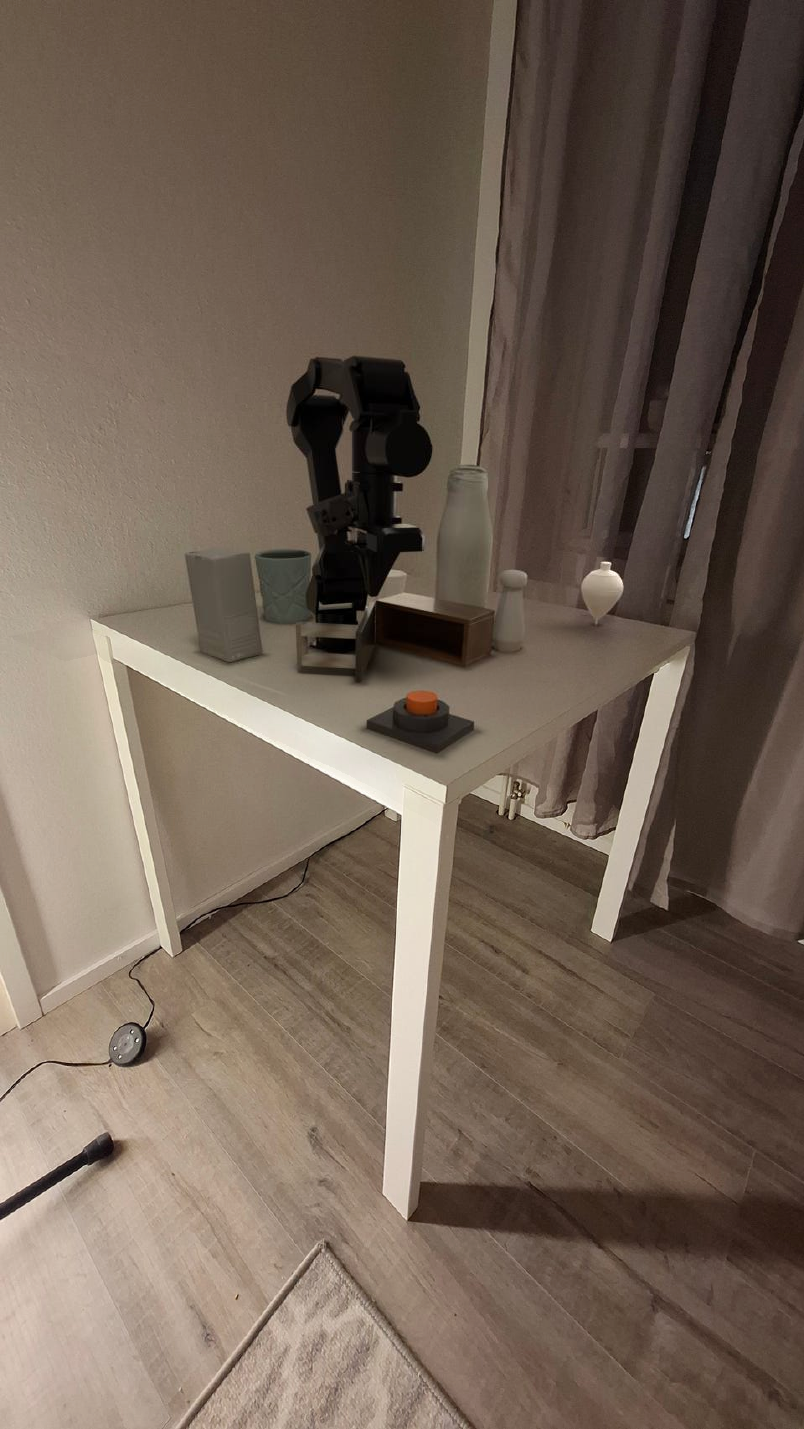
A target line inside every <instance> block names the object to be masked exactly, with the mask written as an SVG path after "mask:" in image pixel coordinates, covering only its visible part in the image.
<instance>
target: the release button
mask: <svg viewBox="0 0 804 1429" xmlns="http://www.w3.org/2000/svg"><path fill="white" fill-rule="evenodd" d="M405 698H406V710H407V711H408V712H411V713H414V714H431V713H435V712H436V711H437V699H438V695H437V693H435V692H433V691H428V690H412V691H409V692H407V694H406V697H405Z"/></svg>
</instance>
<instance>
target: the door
mask: <svg viewBox="0 0 804 1429" xmlns="http://www.w3.org/2000/svg"><path fill="white" fill-rule="evenodd" d="M367 607H368V609H366V610H365V612H364V615H363V616H362V619H361V620H360V623H359V624H358V625H347V624H327V623H316V622H309V621H308V622H307V621H306V622H305V621H302V622H296V623H295V645H296V664H297V666H299V667H315V668H333V669H334V668H336V669H337V668H338V669H353V670H354V669H355V683H362V681H363V678H364V676H365V674H366V671H367V668H368V665H369V663H370V662H369V661H370V660H371V657H372V654H373V651H374V649H375V646H376V645H375V641H376V640H375V626H376V613H375V612H376V602H375V601H370V602H369V605H368V606H367ZM308 637H309V638H311V637H313V638H314V637H315V638H316V637H329V638H348V639H356V648H355V654H351V653H350V654H349V653H340V654H335V653H331V652H326V653H325V652H309V640H308V639H309V638H308Z"/></svg>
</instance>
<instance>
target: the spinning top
mask: <svg viewBox="0 0 804 1429" xmlns="http://www.w3.org/2000/svg"><path fill="white" fill-rule="evenodd" d="M611 567H612V562H610V561H601V562H600V568H599V569H594V570H592V571H590V573H589V574H587V575H586V576H585V577H584V579H583V580H582V582H581V585H580V586H581V587H580V592H581V596H582V599H583V602H584V604H585V606H586V608H587V610H588V611H589V613H590V615H591V616H592V618H593V620H594V621H595V622H594V625H595V626H598V621H600V620H601V619H602V618H603V617H605V615H607V613H609V611H611V610H612V608H613V607H615V605H616V604H617V602H618V601H619V600H620V598H621V597H622V595H623V593H624V583H623V579H622V578H621V576H620V575H619V573H617V572H615V571H614V570H612V569H611Z"/></svg>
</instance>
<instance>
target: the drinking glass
mask: <svg viewBox="0 0 804 1429" xmlns="http://www.w3.org/2000/svg"><path fill="white" fill-rule="evenodd" d="M254 560H255V561H254V562H255V566H256V572H257V578H258V583H259V591H260V596H261V598H262V599H261V600H262V602H261V603H262V610H263V611H262V612H263V617H264V619H265V620H266V621H268V622H271V623H278V624H296V623H298V622H305V621H307V620H309V619H310V617H311V611H310V610H309V609H307V604H306V592H307V589H308V586H309V583H310V580H311V577H312V553H311V552H309V551H307V550H302V549H293V548H290V549H289V548H288V549H287V548H285V549H284V548H279V549H278V548H276V549H268V550H262V551H258V552H255V553H254Z"/></svg>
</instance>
